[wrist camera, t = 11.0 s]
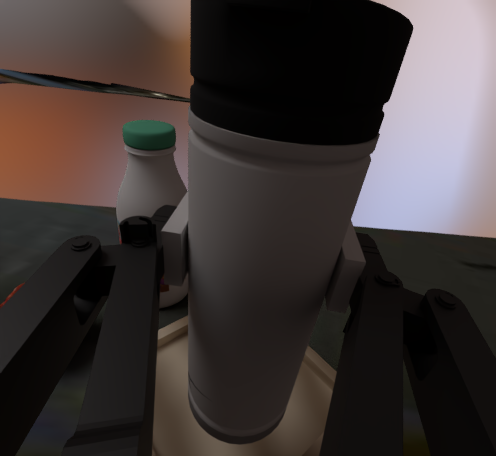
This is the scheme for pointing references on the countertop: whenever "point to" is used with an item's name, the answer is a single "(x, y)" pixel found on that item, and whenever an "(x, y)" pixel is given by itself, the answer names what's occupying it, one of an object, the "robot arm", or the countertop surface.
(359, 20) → the travel mug
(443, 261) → the countertop surface
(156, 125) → the milk bottle
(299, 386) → the wood tray
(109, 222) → the countertop surface
